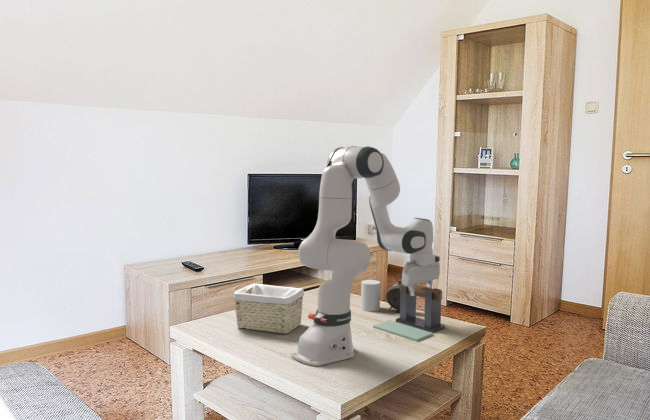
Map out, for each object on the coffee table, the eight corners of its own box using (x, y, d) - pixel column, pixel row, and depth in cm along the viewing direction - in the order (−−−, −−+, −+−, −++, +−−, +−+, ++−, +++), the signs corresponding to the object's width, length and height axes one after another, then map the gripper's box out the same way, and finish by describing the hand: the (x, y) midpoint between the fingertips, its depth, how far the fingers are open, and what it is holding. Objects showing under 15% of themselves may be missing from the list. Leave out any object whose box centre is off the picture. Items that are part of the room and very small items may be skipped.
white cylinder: (382, 308, 235) (383, 281, 233) (374, 312, 228) (374, 285, 227) (366, 305, 239) (366, 279, 238) (357, 309, 232) (358, 282, 231)
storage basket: (232, 328, 207) (231, 291, 206) (253, 316, 222) (252, 282, 221) (287, 336, 198) (287, 298, 197) (305, 324, 213) (305, 287, 212)
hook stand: (432, 332, 203) (433, 293, 201) (395, 321, 216) (396, 285, 214) (444, 328, 208) (445, 290, 206) (407, 317, 221) (408, 281, 219)
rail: (437, 300, 203) (437, 292, 203) (399, 291, 216) (400, 284, 216) (442, 299, 205) (442, 291, 205) (404, 290, 218) (405, 282, 218)
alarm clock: (413, 311, 230) (413, 274, 228) (409, 315, 225) (409, 277, 223) (388, 308, 234) (389, 272, 233) (384, 311, 230) (385, 274, 228)
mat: (416, 341, 193) (416, 339, 193) (373, 327, 208) (373, 325, 208) (432, 335, 200) (433, 333, 200) (389, 322, 215) (389, 320, 215)
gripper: (411, 263, 200) (410, 299, 201) (442, 256, 214) (441, 290, 215) (398, 261, 204) (397, 296, 206) (429, 254, 218) (429, 287, 220)
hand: (420, 293), depth 210 cm, fingers open, 8 cm apart
